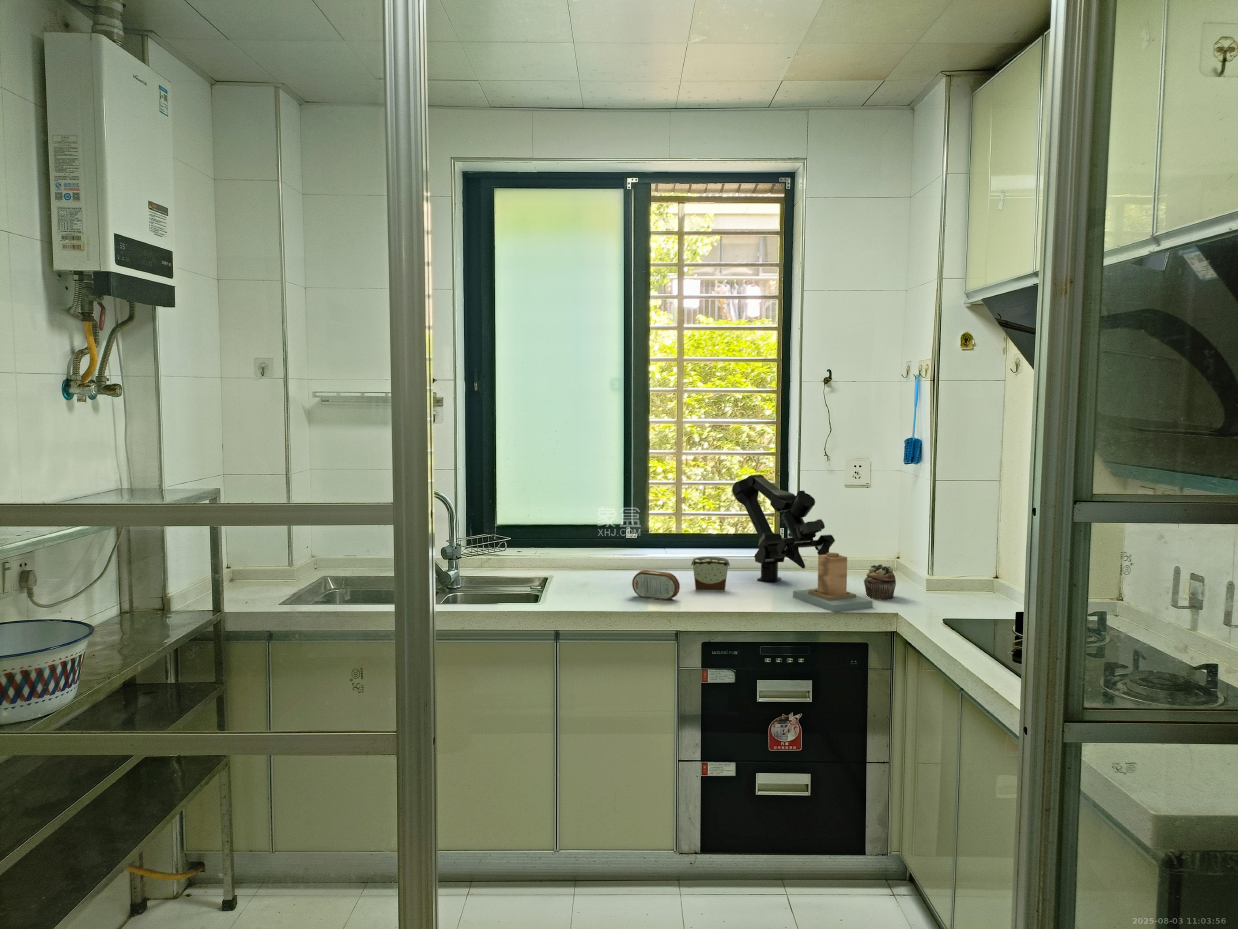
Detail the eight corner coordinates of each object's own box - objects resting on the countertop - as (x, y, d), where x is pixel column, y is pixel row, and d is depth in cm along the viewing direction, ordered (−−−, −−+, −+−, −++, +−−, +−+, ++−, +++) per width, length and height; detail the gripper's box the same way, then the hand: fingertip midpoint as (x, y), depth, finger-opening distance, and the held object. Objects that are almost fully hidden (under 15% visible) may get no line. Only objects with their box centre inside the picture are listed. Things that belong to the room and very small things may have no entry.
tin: (680, 600, 253) (680, 572, 252) (676, 602, 250) (676, 574, 249) (634, 595, 259) (634, 568, 259) (630, 597, 256) (630, 570, 256)
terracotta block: (817, 594, 251) (818, 552, 250) (833, 592, 254) (834, 551, 253) (829, 598, 246) (830, 555, 245) (846, 596, 248) (847, 554, 247)
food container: (729, 587, 271) (729, 556, 270) (729, 591, 265) (730, 560, 264) (691, 586, 272) (691, 556, 271) (690, 590, 266) (691, 559, 265)
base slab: (793, 597, 256) (793, 587, 256) (830, 593, 262) (830, 583, 262) (833, 612, 238) (833, 601, 238) (872, 607, 243) (872, 597, 243)
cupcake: (901, 596, 257) (902, 564, 256) (887, 602, 250) (888, 569, 249) (872, 592, 264) (872, 560, 263) (857, 597, 257) (858, 565, 256)
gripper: (782, 512, 256) (802, 553, 247) (832, 509, 263) (853, 549, 254) (767, 533, 264) (787, 574, 255) (816, 530, 271) (836, 570, 262)
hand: (816, 566), depth 256 cm, fingers open, 9 cm apart
